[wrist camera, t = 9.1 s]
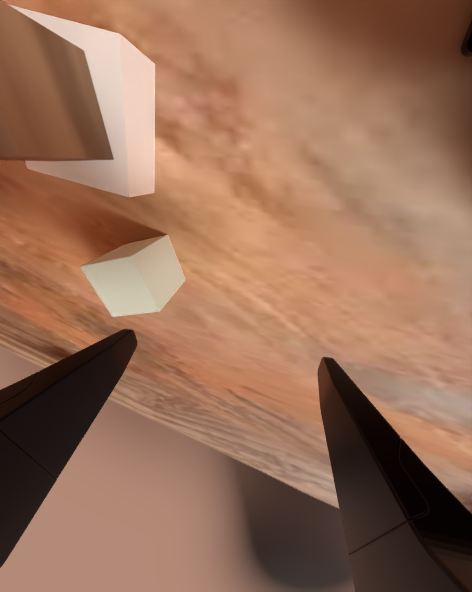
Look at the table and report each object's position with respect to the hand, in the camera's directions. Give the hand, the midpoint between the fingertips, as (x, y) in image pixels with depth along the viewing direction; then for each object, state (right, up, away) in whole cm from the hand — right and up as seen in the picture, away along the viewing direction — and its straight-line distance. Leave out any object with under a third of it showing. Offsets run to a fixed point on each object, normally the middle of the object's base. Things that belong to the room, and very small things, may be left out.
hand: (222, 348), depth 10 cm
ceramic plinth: (-10, +16, +7) cm, 20 cm away
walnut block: (-10, +14, +3) cm, 18 cm away
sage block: (-8, +6, +12) cm, 16 cm away
